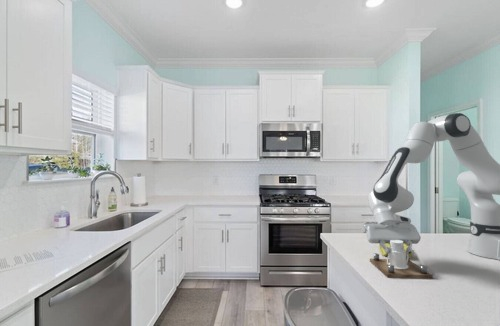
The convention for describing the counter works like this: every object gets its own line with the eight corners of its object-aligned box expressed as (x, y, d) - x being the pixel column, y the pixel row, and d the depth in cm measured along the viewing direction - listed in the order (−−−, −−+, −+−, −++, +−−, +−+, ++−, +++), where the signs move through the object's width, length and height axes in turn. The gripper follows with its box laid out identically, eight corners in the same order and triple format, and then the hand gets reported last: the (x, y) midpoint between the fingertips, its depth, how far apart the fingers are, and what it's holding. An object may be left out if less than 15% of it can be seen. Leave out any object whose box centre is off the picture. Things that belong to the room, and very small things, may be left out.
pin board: (408, 262, 108) (408, 253, 108) (432, 278, 92) (432, 268, 92) (369, 261, 109) (369, 252, 109) (387, 277, 93) (387, 267, 93)
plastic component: (414, 255, 111) (390, 243, 113) (405, 268, 112) (382, 257, 115) (402, 239, 129) (383, 229, 132) (395, 251, 131) (376, 241, 133)
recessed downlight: (403, 262, 104) (402, 238, 104) (413, 269, 97) (411, 243, 97) (383, 263, 105) (382, 239, 105) (391, 270, 98) (390, 244, 98)
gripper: (364, 218, 109) (374, 248, 99) (414, 218, 107) (429, 249, 97) (360, 226, 113) (370, 255, 103) (408, 226, 112) (422, 256, 102)
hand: (399, 252), depth 100 cm, fingers closed on recessed downlight, 7 cm apart
